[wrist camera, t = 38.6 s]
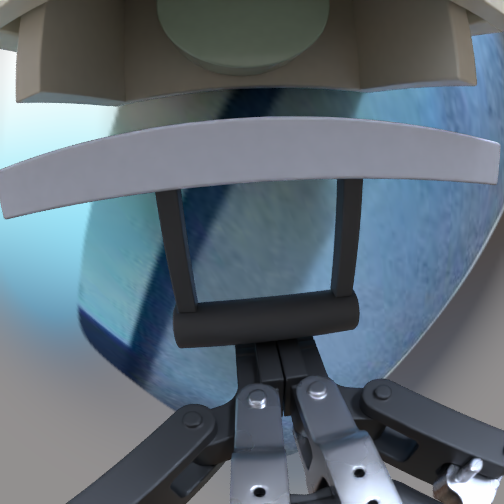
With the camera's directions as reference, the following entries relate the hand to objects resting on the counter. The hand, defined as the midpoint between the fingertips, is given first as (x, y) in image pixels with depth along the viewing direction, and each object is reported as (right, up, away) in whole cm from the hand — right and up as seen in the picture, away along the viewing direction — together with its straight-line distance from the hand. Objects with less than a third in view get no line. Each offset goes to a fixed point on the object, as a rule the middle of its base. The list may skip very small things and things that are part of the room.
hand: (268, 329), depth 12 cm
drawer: (-1, +12, -2) cm, 12 cm away
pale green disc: (-1, +13, -4) cm, 13 cm away
